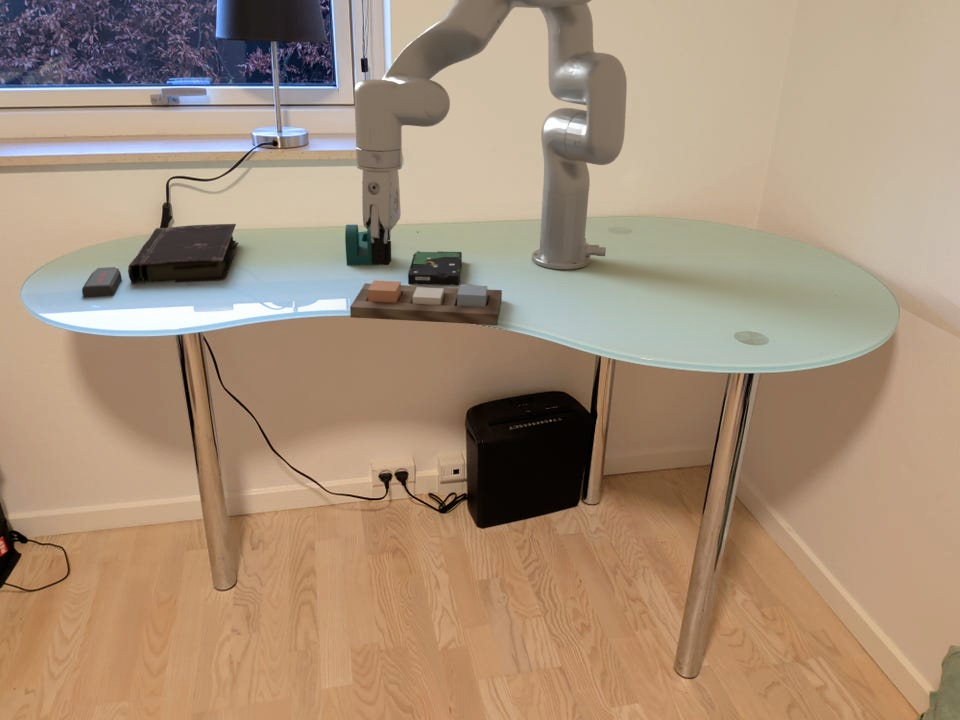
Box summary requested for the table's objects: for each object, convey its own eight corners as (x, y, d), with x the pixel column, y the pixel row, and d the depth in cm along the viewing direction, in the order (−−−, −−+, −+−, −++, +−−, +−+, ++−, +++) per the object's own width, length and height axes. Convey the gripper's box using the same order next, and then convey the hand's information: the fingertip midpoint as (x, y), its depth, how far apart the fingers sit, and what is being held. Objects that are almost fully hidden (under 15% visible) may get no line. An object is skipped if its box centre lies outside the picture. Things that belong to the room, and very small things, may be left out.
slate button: (487, 301, 138) (487, 285, 137) (484, 311, 133) (485, 295, 132) (460, 299, 138) (460, 284, 137) (457, 310, 134) (457, 294, 132)
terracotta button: (401, 296, 139) (400, 281, 138) (396, 306, 134) (395, 291, 133) (374, 295, 139) (373, 280, 138) (368, 305, 135) (367, 289, 133)
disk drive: (460, 288, 148) (461, 263, 162) (460, 275, 147) (461, 250, 160) (408, 287, 148) (413, 262, 161) (407, 274, 147) (413, 249, 160)
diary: (130, 288, 145) (124, 263, 143) (155, 248, 167) (151, 226, 165) (230, 282, 148) (226, 258, 146) (242, 244, 170) (239, 223, 168)
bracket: (379, 266, 158) (377, 229, 155) (346, 266, 158) (344, 229, 154) (382, 240, 174) (381, 207, 171) (353, 240, 174) (351, 207, 170)
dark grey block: (83, 300, 138) (80, 285, 137) (97, 278, 149) (94, 264, 147) (114, 298, 139) (111, 284, 138) (125, 276, 150) (122, 263, 149)
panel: (501, 300, 141) (501, 290, 140) (497, 325, 131) (497, 314, 130) (365, 293, 143) (365, 283, 142) (350, 317, 132) (350, 306, 131)
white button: (443, 303, 139) (443, 288, 138) (440, 313, 134) (440, 298, 133) (417, 302, 139) (416, 287, 138) (412, 312, 135) (412, 296, 133)
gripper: (393, 168, 119) (394, 278, 126) (408, 152, 132) (409, 252, 140) (346, 165, 119) (350, 275, 127) (366, 149, 132) (369, 250, 140)
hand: (381, 263), depth 133 cm, fingers closed
